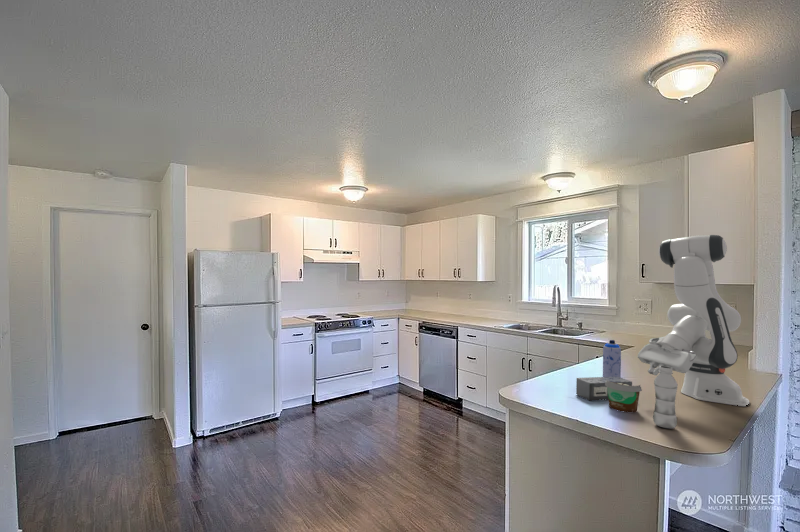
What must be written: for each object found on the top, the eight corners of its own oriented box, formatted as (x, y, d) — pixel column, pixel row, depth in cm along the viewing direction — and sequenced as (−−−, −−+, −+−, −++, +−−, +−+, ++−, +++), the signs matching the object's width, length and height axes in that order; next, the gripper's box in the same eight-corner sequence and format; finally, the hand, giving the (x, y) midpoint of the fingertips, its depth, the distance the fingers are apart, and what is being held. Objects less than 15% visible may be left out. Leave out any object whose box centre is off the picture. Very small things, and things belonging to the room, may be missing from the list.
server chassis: (617, 392, 168) (617, 376, 168) (632, 399, 160) (633, 381, 160) (576, 394, 164) (576, 377, 164) (590, 401, 156) (590, 383, 156)
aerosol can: (622, 386, 179) (623, 342, 179) (603, 383, 182) (603, 340, 182) (619, 381, 186) (620, 339, 187) (601, 379, 189) (601, 338, 189)
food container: (600, 407, 149) (600, 381, 149) (605, 404, 153) (605, 378, 153) (637, 416, 140) (638, 388, 140) (641, 412, 145) (641, 385, 145)
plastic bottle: (655, 421, 135) (656, 363, 136) (678, 427, 130) (679, 367, 131) (650, 426, 131) (651, 366, 131) (674, 432, 126) (675, 370, 126)
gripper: (704, 359, 141) (681, 386, 139) (656, 348, 161) (635, 372, 159) (694, 346, 141) (670, 374, 138) (647, 337, 161) (626, 361, 158)
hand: (651, 373), depth 149 cm, fingers closed
